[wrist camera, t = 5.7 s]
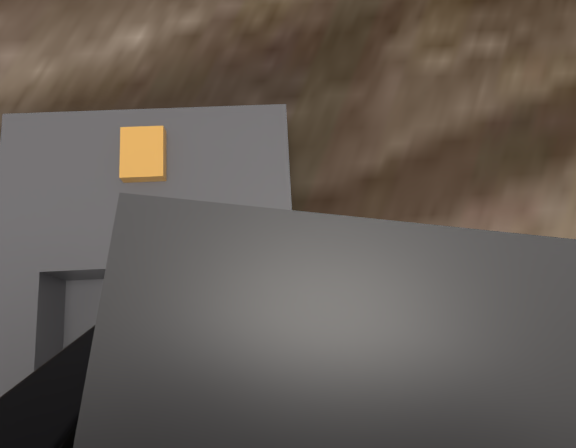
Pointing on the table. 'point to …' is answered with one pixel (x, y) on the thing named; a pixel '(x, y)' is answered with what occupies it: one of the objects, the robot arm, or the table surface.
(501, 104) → the table surface
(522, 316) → the plug
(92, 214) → the plate
